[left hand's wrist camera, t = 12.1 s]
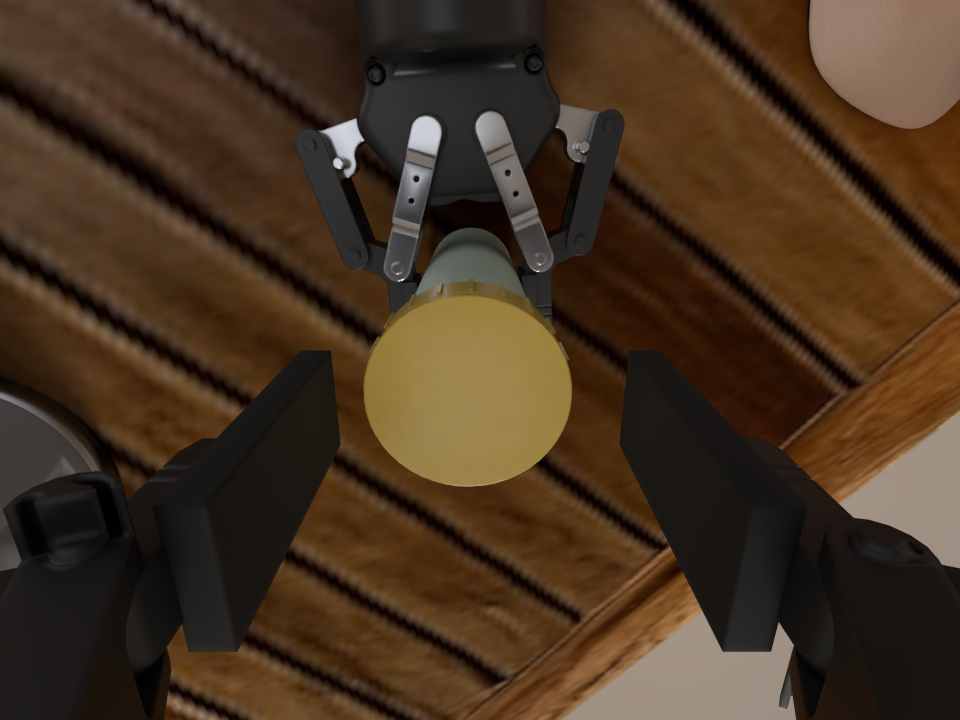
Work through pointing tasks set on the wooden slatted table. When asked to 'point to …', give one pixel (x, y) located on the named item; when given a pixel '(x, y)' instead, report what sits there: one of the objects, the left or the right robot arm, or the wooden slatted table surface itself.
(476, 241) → the jar
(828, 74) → the anatomical model
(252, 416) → the left robot arm
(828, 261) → the wooden slatted table surface
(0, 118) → the wooden slatted table surface
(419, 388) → the lid
